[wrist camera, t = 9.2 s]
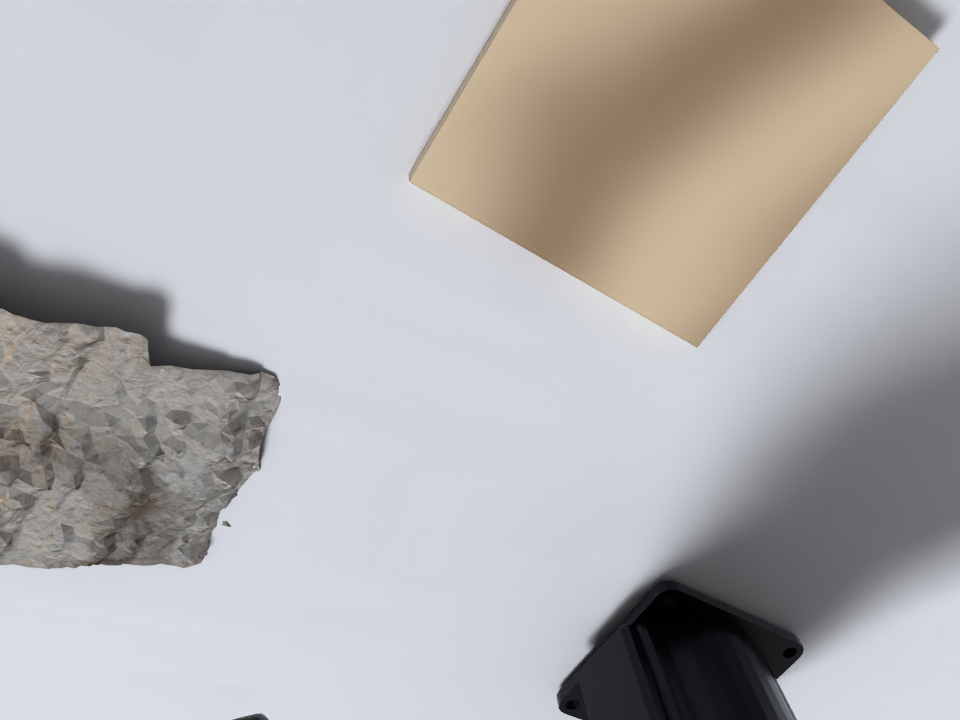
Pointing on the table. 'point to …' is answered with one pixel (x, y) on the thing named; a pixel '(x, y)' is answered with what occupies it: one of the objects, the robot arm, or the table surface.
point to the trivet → (666, 136)
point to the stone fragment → (117, 447)
